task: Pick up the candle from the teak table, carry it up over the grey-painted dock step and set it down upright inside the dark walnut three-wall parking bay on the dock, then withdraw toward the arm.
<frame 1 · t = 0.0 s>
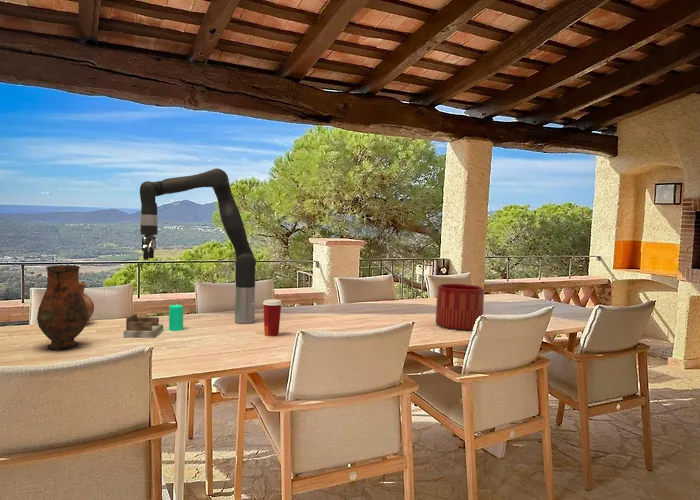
hand: (148, 259, 235), 29 cm above the table, fingers open, 8 cm apart
pitcher: (64, 345, 188), on the table
coffee cup: (271, 335, 218), on the table
dock: (144, 333, 211), on the table
candle: (176, 329, 221), on the table
planter: (458, 326, 251), on the table
jug: (70, 325, 222), on the table
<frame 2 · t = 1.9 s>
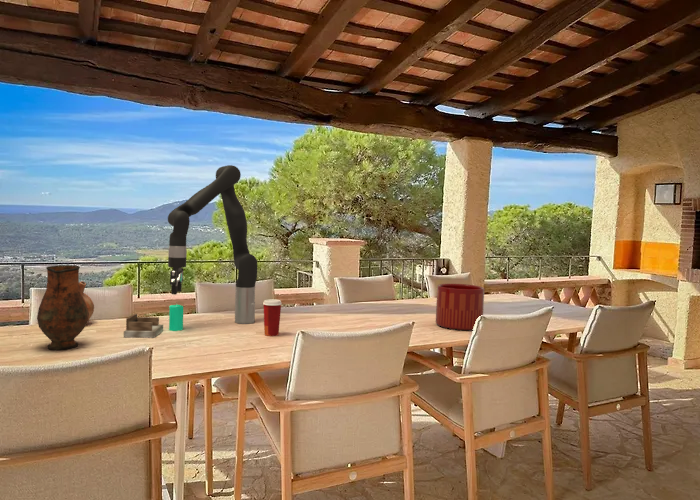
hand: (176, 293, 220), 16 cm above the table, fingers open, 8 cm apart
nothing on the table moved.
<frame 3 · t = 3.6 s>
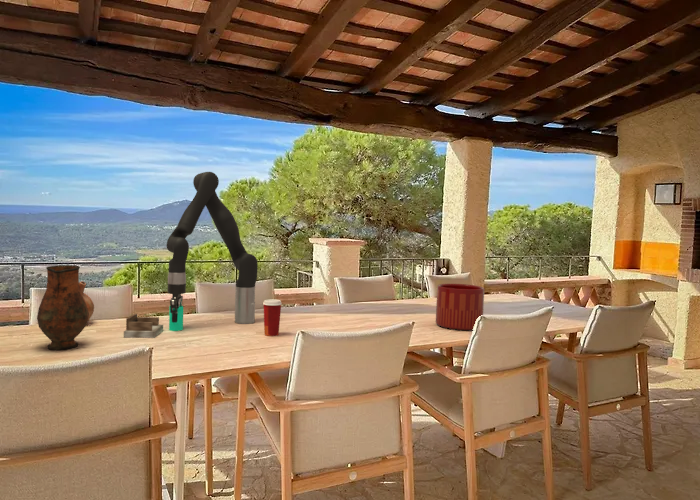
hand: (176, 320, 221), 4 cm above the table, fingers closed on candle, 5 cm apart
candle: (176, 329, 221), on the table, touching gripper
everything else where it was.
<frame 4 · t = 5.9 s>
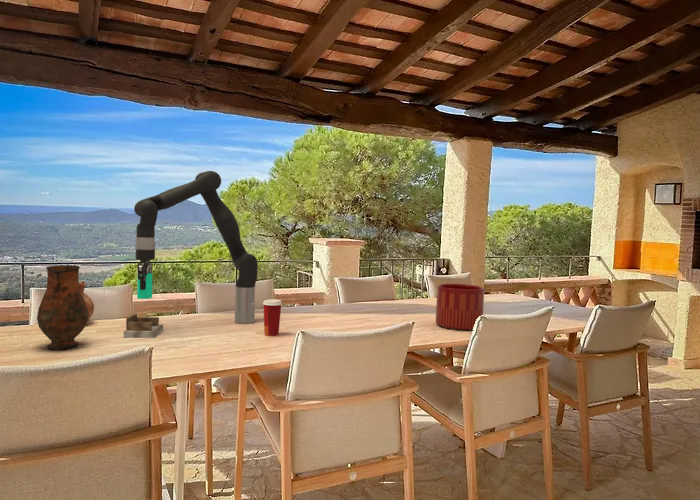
hand: (144, 288, 210), 19 cm above the table, fingers closed on candle, 5 cm apart
candle: (144, 298, 210), point 15 cm above the table, touching gripper
everything else where it was.
when the fingers open (7 cm above the table, at t = 8.5 s): candle stays where it is, resting on dock.
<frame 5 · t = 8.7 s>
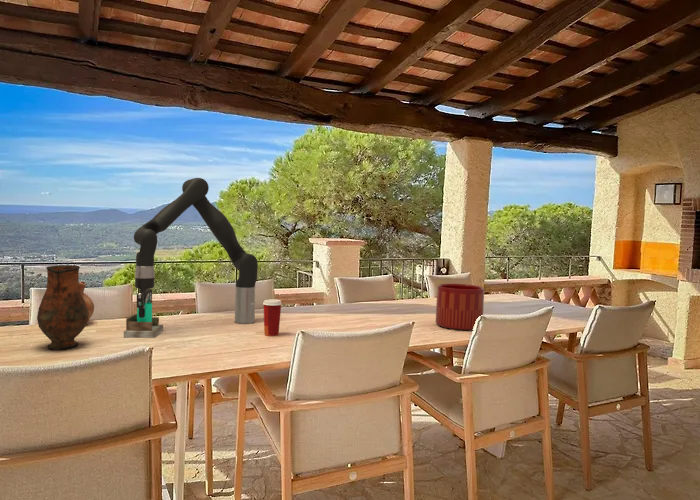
hand: (144, 315, 210), 8 cm above the table, fingers open, 6 cm apart
candle: (144, 328, 211), point 2 cm above the table, touching dock
everything else where it was.
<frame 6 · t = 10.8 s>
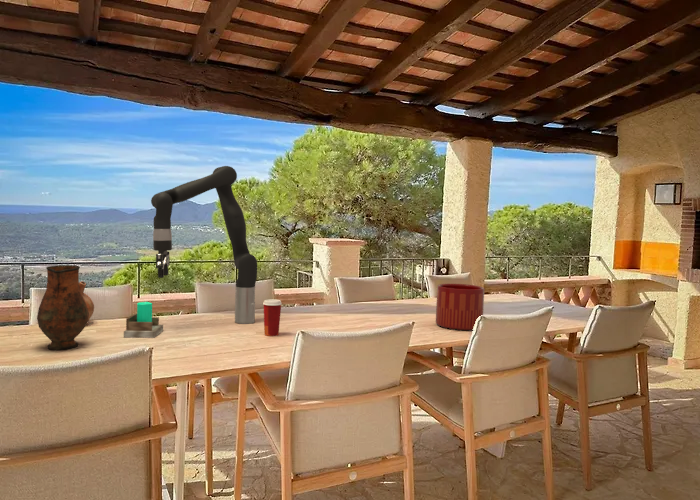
hand: (163, 276, 218), 23 cm above the table, fingers open, 8 cm apart
nothing on the table moved.
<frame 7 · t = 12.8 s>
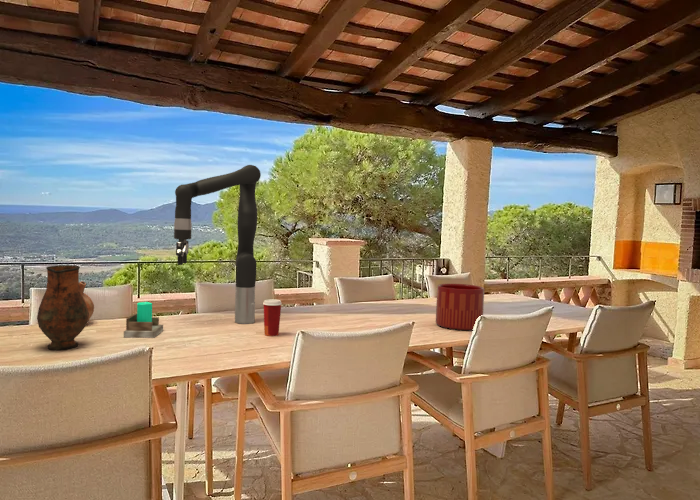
hand: (182, 264, 229), 28 cm above the table, fingers open, 8 cm apart
nothing on the table moved.
at the end: candle inside the target area on the dock (0.1 cm from its centre), point 2.3 cm above the dock's base; candle tilted 0°; the gripper is holding nothing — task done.
